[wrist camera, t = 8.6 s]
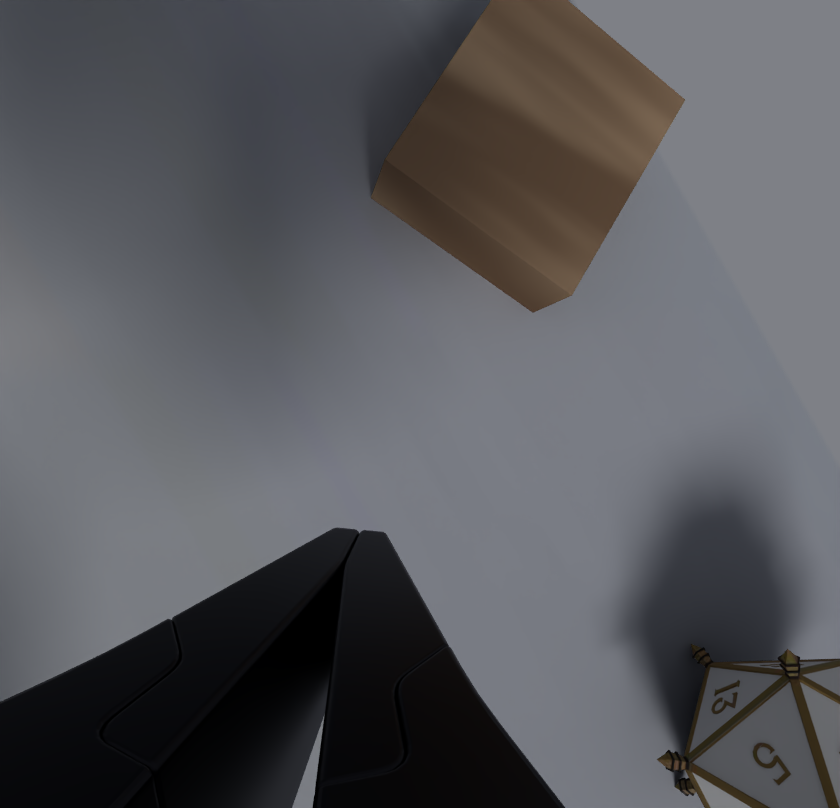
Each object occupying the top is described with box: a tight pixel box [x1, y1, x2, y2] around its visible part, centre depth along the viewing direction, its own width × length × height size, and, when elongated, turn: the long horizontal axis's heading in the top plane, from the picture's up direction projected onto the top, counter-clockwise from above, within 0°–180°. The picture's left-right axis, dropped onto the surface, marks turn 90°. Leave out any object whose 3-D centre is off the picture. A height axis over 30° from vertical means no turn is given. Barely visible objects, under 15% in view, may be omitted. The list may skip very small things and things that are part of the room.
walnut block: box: [371, 0, 685, 312], centre depth 19 cm, size 3×7×8 cm
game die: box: [657, 644, 840, 808], centre depth 18 cm, size 9×8×10 cm
